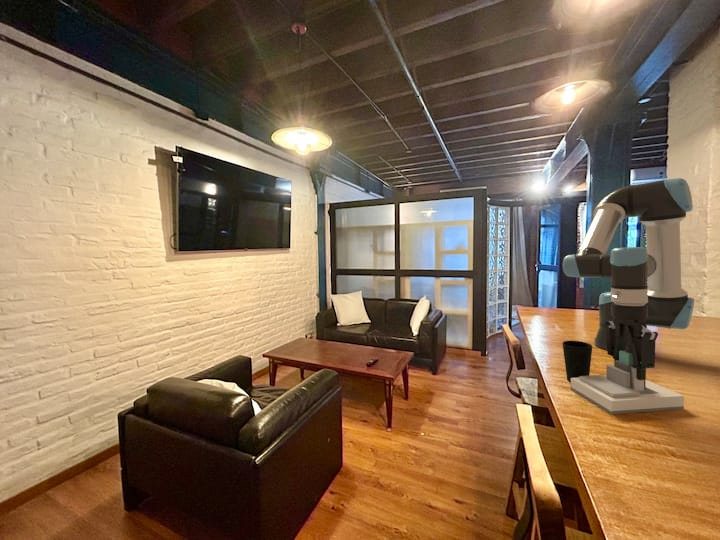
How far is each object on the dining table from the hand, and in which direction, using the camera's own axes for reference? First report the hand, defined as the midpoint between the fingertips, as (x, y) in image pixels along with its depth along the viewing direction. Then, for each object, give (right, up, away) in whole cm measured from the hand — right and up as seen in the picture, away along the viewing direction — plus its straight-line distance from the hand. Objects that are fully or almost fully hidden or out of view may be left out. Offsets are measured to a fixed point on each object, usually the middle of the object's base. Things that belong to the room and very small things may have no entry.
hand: (629, 386), depth 82 cm
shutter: (-6, 0, 0) cm, 6 cm away
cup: (-6, -3, +12) cm, 14 cm away
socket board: (-2, -3, 0) cm, 4 cm away
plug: (0, 0, 0) cm, 0 cm away
